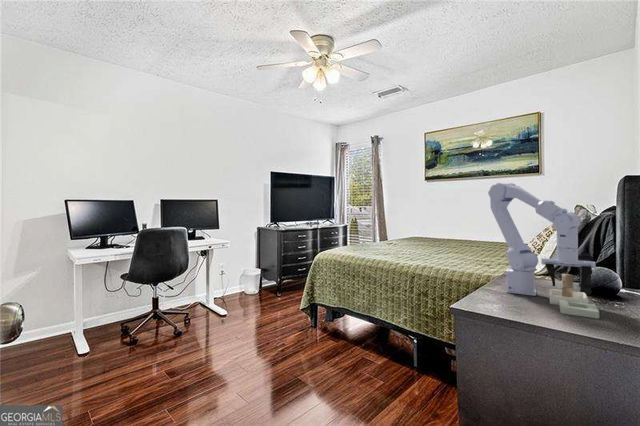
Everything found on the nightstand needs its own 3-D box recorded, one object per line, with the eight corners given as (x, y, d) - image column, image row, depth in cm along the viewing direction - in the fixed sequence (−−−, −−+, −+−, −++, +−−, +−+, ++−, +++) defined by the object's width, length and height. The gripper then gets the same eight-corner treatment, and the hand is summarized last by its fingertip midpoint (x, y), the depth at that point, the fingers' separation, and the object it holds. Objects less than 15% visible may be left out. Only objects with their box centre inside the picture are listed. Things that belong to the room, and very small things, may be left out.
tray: (549, 303, 105) (549, 295, 105) (549, 296, 114) (549, 288, 114) (588, 309, 100) (588, 299, 100) (584, 301, 108) (584, 292, 108)
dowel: (562, 300, 106) (562, 274, 107) (561, 299, 109) (561, 273, 109) (573, 302, 104) (573, 275, 105) (572, 300, 107) (572, 274, 107)
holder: (560, 313, 96) (560, 306, 96) (559, 305, 104) (559, 299, 104) (599, 318, 91) (599, 311, 91) (594, 310, 98) (594, 304, 98)
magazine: (578, 290, 115) (579, 252, 120) (580, 298, 124) (580, 262, 129) (591, 292, 113) (592, 253, 117) (592, 300, 122) (593, 263, 126)
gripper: (541, 247, 107) (541, 286, 107) (596, 250, 99) (597, 292, 99) (541, 245, 113) (541, 282, 113) (593, 247, 105) (594, 287, 105)
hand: (567, 287), depth 106 cm, fingers open, 7 cm apart
